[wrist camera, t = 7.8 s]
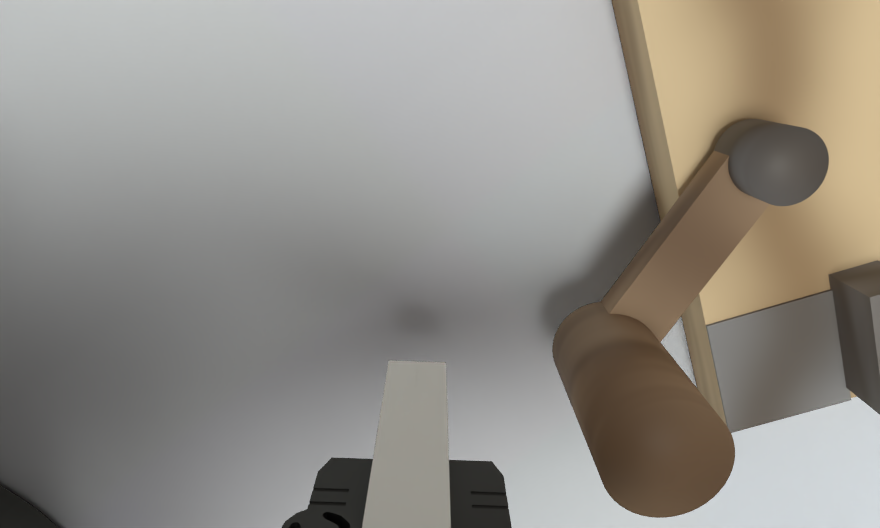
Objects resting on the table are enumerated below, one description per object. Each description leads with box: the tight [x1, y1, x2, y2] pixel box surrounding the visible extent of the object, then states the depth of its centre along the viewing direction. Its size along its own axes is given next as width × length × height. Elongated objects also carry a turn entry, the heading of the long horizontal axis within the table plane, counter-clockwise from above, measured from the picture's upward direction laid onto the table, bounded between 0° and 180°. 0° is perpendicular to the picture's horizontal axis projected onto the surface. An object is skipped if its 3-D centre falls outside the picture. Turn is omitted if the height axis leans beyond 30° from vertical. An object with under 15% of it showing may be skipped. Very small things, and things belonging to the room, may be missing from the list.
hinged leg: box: [552, 119, 829, 517], centre depth 17 cm, size 10×3×6 cm, turn 148°
